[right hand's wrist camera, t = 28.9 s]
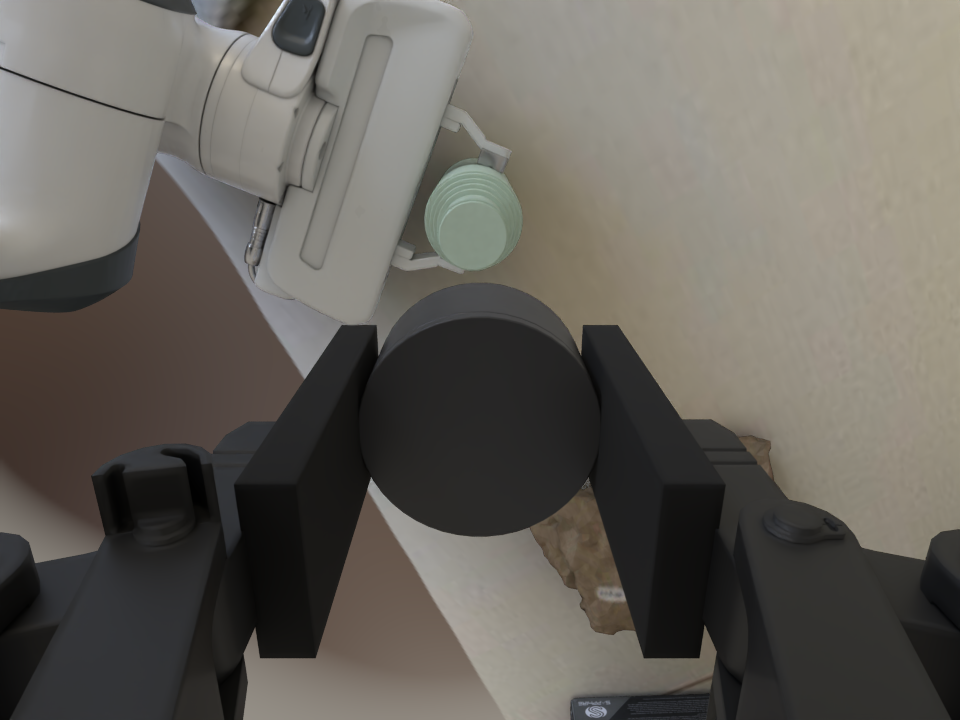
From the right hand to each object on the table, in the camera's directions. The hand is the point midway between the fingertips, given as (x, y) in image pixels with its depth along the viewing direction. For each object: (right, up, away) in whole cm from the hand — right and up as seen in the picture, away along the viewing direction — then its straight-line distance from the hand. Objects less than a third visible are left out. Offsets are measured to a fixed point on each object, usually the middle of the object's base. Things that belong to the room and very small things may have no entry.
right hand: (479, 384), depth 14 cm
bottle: (0, +13, +33) cm, 35 cm away
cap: (0, -1, -2) cm, 2 cm away
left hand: (0, +10, +27) cm, 29 cm away
